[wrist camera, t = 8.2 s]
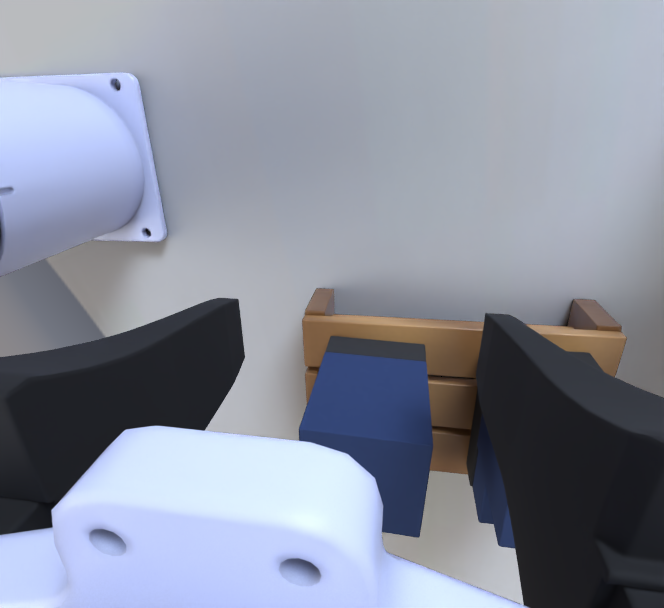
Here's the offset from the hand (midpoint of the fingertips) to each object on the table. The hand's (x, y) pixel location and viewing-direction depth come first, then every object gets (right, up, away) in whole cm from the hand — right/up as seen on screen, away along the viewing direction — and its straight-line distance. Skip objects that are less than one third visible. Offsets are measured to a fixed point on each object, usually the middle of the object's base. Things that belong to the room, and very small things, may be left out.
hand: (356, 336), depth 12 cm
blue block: (+1, -4, +9) cm, 10 cm away
